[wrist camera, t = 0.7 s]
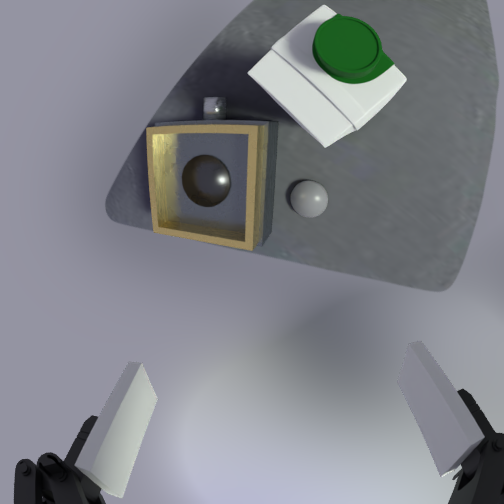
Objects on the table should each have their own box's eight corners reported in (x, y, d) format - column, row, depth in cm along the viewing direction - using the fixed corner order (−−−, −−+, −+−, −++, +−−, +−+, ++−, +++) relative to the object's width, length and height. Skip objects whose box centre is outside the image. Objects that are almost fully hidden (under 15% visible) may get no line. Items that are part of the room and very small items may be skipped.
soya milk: (382, 102, 27) (428, 77, 10) (332, 144, 32) (321, 166, 15) (333, 53, 26) (318, -19, 9) (285, 96, 31) (220, 70, 14)
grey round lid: (293, 177, 36) (292, 179, 35) (330, 182, 35) (329, 184, 34) (290, 211, 38) (289, 214, 37) (325, 217, 37) (324, 220, 36)
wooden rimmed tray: (174, 102, 36) (143, 101, 29) (279, 99, 31) (263, 93, 25) (178, 217, 44) (151, 235, 38) (271, 232, 40) (256, 255, 34)
